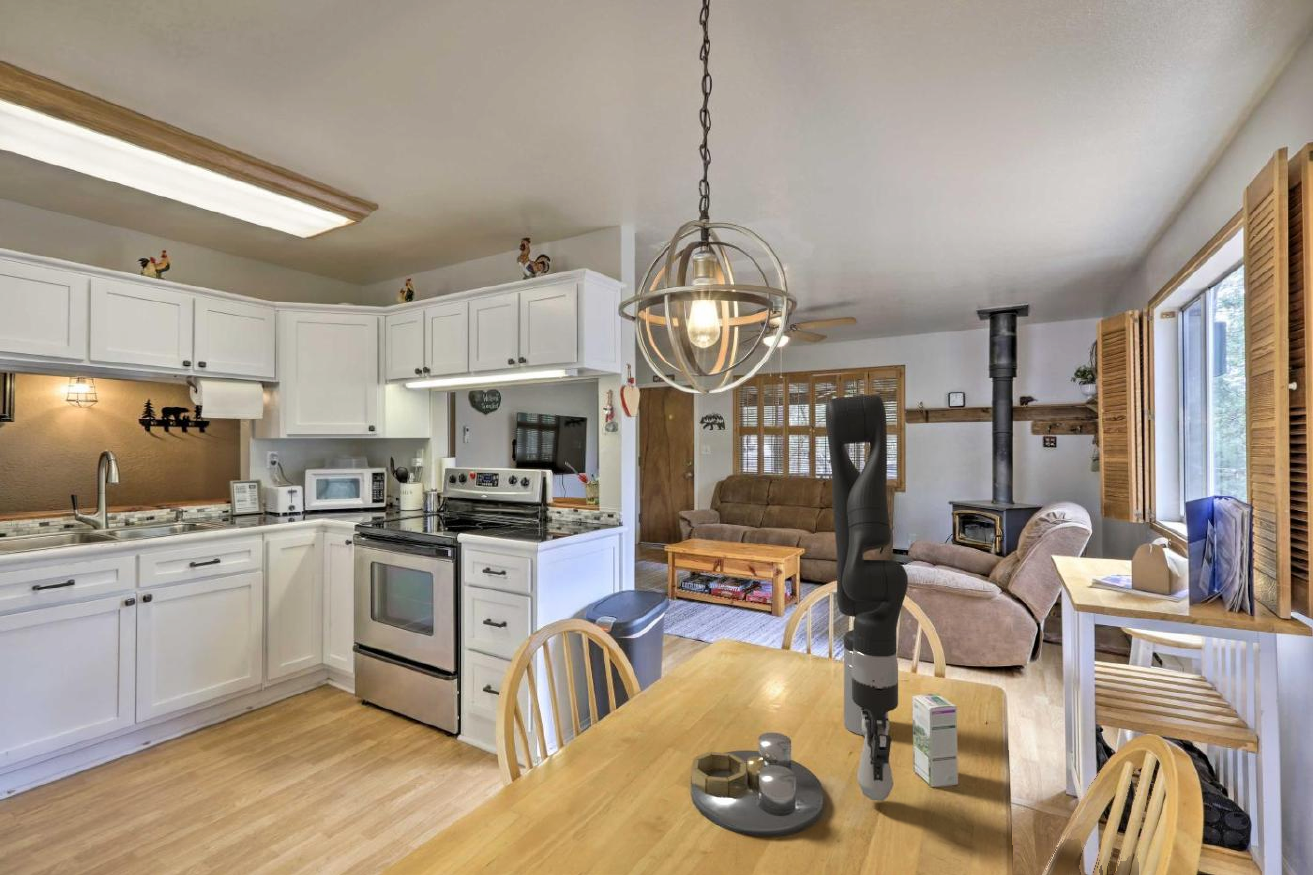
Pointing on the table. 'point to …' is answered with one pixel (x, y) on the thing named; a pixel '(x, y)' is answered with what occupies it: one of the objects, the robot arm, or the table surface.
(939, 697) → the syrup box
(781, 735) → the carrier
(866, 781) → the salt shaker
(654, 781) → the table surface
